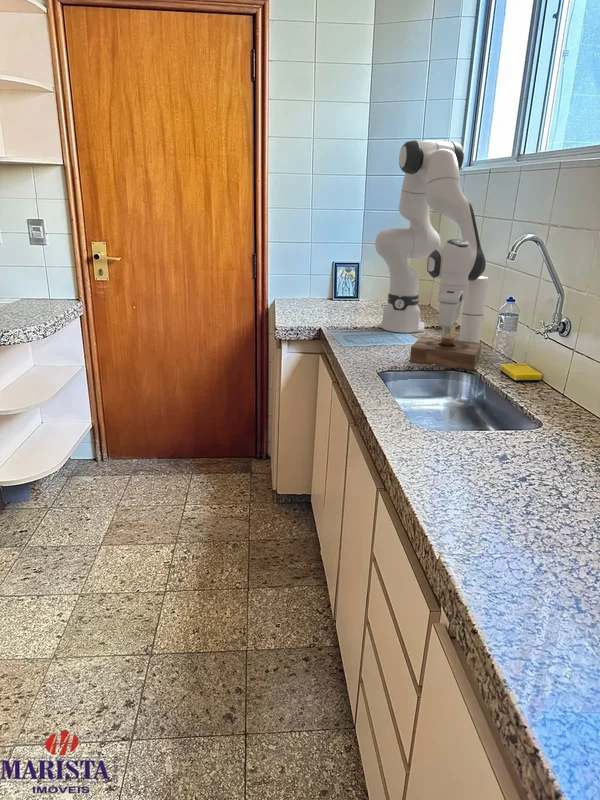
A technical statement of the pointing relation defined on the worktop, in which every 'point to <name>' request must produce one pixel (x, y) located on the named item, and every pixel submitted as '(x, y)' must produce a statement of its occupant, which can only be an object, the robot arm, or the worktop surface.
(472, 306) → the cylindrical container
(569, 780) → the worktop surface
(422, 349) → the block
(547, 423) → the worktop surface
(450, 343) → the bushing
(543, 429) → the worktop surface
